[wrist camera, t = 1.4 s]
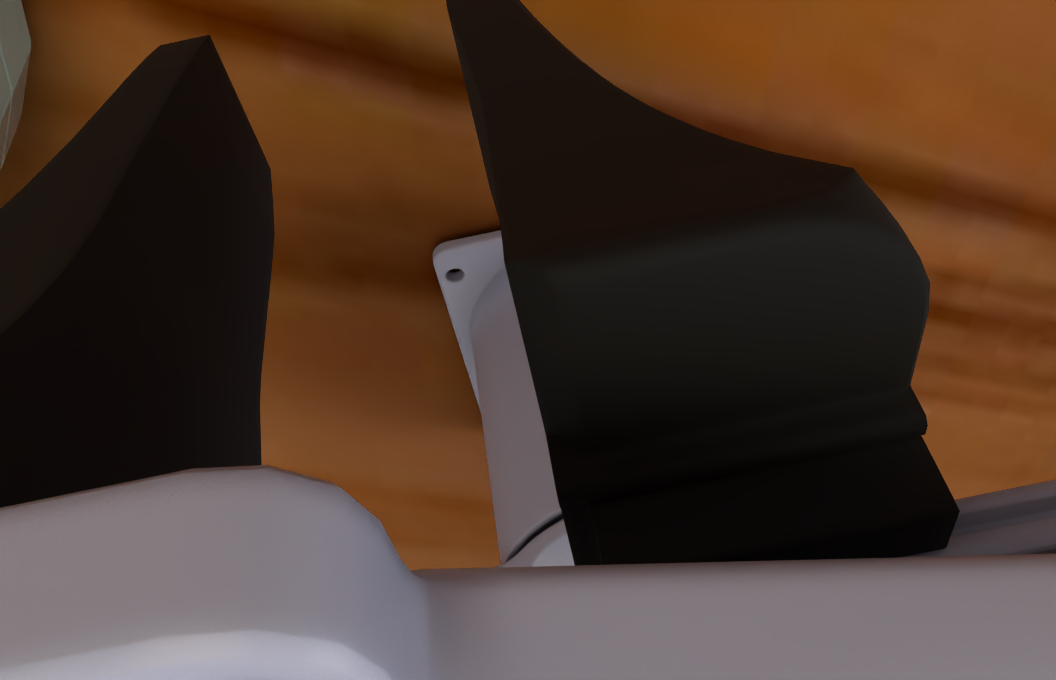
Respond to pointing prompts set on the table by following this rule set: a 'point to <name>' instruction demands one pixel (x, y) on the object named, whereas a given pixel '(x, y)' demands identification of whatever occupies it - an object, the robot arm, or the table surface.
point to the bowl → (12, 69)
